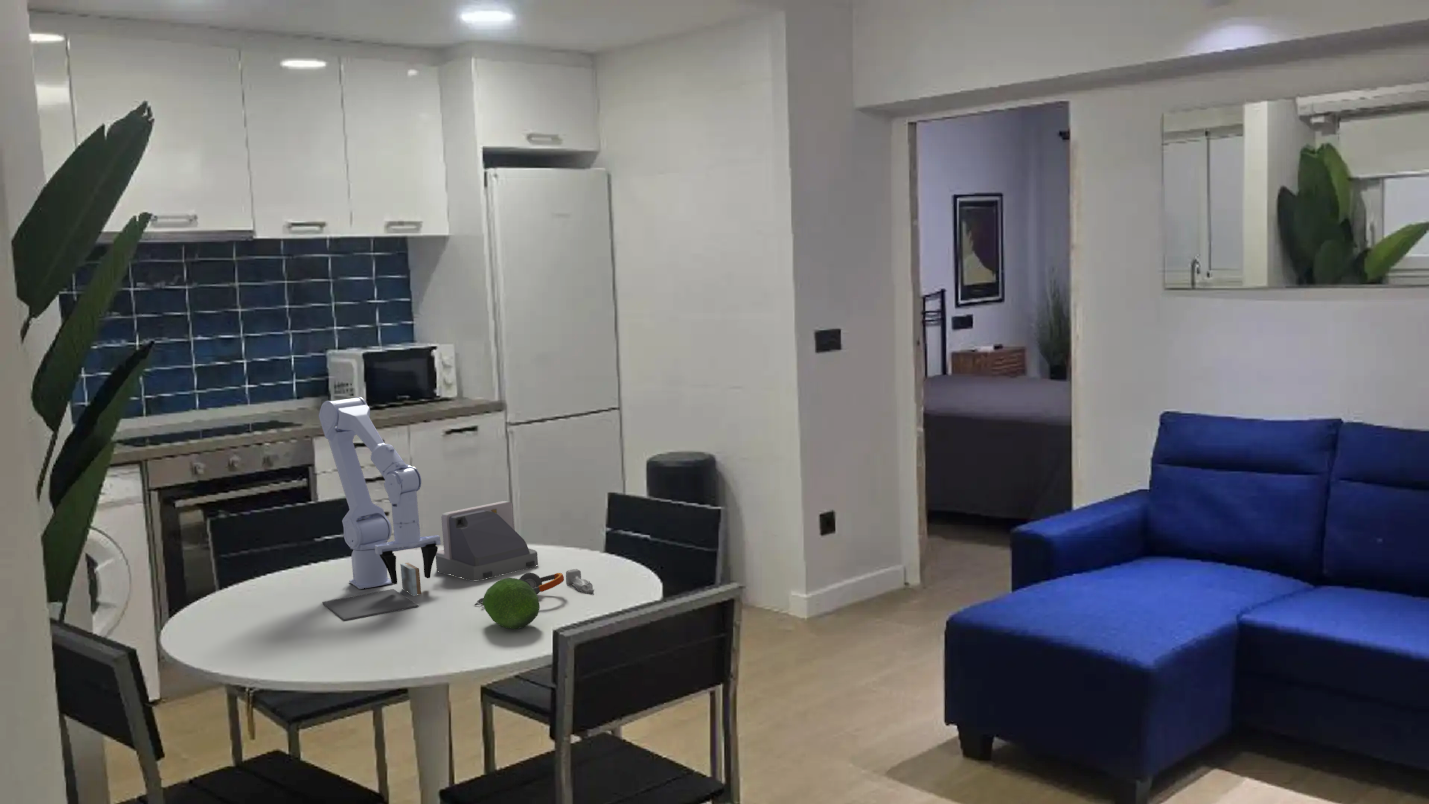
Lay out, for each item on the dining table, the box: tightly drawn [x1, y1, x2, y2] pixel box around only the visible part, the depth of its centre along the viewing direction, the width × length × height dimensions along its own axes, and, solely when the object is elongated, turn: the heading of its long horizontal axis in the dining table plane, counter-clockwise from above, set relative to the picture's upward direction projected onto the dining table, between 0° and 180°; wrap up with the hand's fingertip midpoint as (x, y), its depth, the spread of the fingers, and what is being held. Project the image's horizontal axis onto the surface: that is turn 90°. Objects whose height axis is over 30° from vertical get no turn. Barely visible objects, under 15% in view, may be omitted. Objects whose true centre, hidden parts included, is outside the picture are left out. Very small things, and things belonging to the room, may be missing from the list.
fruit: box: [482, 577, 541, 630], centre depth 249 cm, size 15×10×10 cm, turn 33°
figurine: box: [565, 568, 595, 595], centre depth 276 cm, size 4×12×4 cm, turn 27°
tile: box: [399, 562, 422, 597], centre depth 281 cm, size 8×2×6 cm, turn 31°
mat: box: [322, 588, 419, 622], centre depth 272 cm, size 18×16×1 cm
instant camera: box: [435, 500, 539, 581], centre depth 300 cm, size 21×21×15 cm
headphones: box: [474, 572, 565, 607], centre depth 270 cm, size 17×5×20 cm
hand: (411, 580), depth 281 cm, fingers open, 7 cm apart
